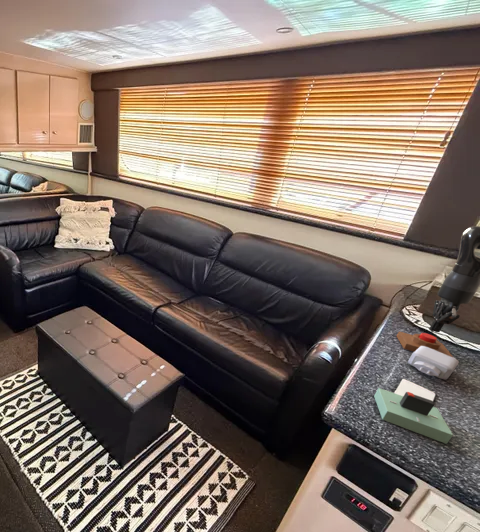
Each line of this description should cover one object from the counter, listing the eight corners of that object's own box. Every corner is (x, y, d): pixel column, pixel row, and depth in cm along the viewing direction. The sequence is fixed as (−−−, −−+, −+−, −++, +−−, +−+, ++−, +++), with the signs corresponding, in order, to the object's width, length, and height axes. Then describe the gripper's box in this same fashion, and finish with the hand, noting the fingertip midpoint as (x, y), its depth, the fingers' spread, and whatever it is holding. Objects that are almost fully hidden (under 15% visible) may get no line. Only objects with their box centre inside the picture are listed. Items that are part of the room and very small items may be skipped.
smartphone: (436, 393, 92) (427, 415, 84) (434, 395, 92) (426, 417, 84) (402, 378, 97) (391, 397, 89) (401, 380, 98) (390, 399, 89)
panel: (431, 416, 84) (437, 407, 83) (446, 444, 76) (453, 434, 75) (373, 395, 89) (378, 387, 88) (382, 419, 81) (387, 410, 80)
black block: (424, 411, 81) (432, 399, 79) (427, 416, 80) (435, 403, 78) (399, 402, 83) (406, 391, 82) (401, 406, 82) (408, 394, 80)
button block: (439, 348, 116) (444, 339, 115) (450, 362, 108) (456, 352, 107) (396, 336, 122) (401, 327, 120) (403, 348, 114) (409, 339, 112)
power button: (432, 339, 114) (434, 335, 113) (436, 344, 111) (438, 340, 110) (417, 335, 116) (419, 331, 115) (420, 340, 113) (423, 336, 112)
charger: (400, 368, 102) (414, 355, 110) (440, 387, 95) (452, 372, 103) (407, 357, 100) (421, 344, 108) (449, 375, 93) (460, 360, 101)
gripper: (485, 296, 98) (456, 343, 105) (466, 283, 109) (441, 326, 115) (451, 289, 102) (425, 335, 108) (436, 277, 112) (413, 319, 119)
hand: (433, 330), depth 112 cm, fingers closed
